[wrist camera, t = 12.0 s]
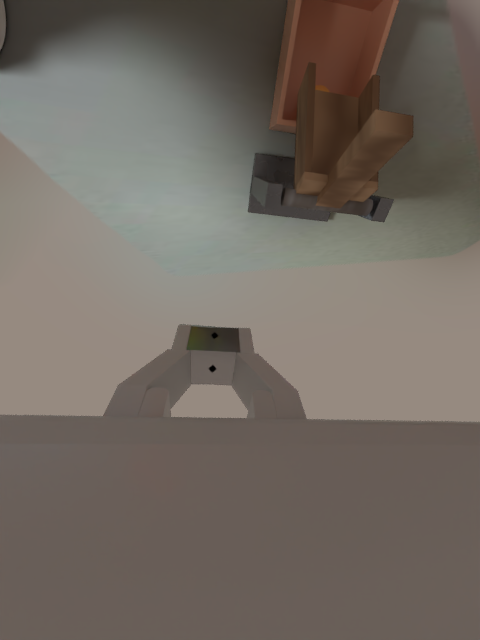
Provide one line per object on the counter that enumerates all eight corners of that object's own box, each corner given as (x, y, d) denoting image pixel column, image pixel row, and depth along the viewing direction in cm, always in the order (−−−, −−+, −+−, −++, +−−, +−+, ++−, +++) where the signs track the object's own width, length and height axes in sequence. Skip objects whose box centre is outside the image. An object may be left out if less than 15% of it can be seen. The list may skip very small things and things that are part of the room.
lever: (280, 208, 27) (325, 122, 16) (285, 100, 27) (331, -51, 17) (362, 218, 28) (458, 145, 17) (364, 114, 29) (456, -19, 18)
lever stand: (247, 210, 41) (259, 235, 27) (255, 153, 36) (273, 147, 22) (324, 219, 43) (372, 247, 29) (340, 166, 38) (408, 168, 24)
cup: (269, 129, 35) (288, 114, 24) (289, -12, 27) (331, -125, 17) (337, 140, 36) (385, 131, 25) (375, 8, 29) (465, -85, 18)
